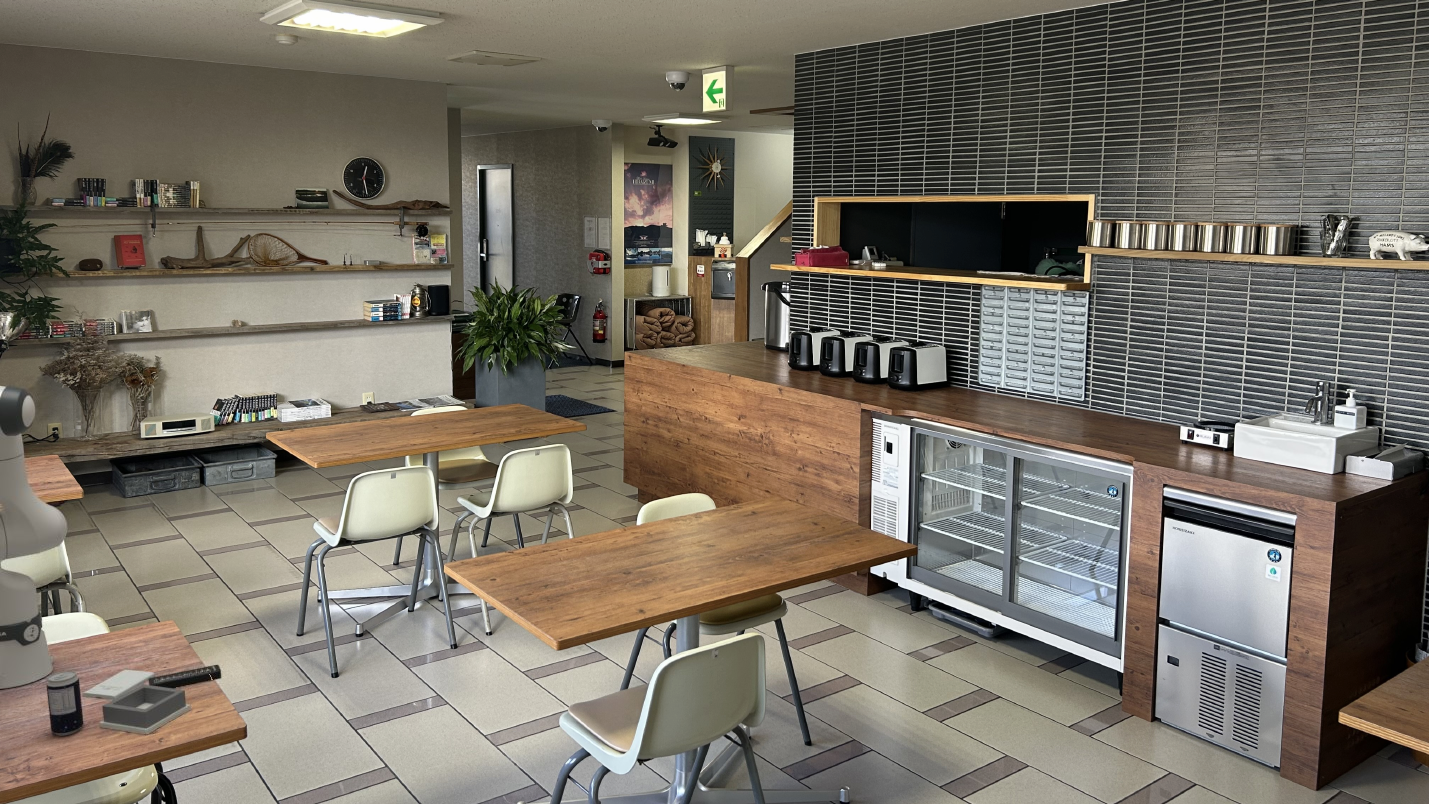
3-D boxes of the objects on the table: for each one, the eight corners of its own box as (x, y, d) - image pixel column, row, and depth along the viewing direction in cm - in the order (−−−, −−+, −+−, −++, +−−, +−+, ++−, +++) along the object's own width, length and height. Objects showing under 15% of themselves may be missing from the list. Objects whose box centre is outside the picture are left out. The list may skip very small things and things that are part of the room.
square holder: (99, 727, 217) (97, 706, 216) (145, 702, 228) (143, 682, 228) (147, 734, 214) (145, 714, 213) (190, 709, 225) (189, 689, 224)
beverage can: (90, 727, 217) (84, 672, 215) (63, 739, 212) (57, 683, 210) (71, 722, 219) (66, 668, 217) (45, 734, 214) (39, 678, 212)
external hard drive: (155, 679, 242) (114, 702, 230) (124, 675, 243) (82, 698, 231) (154, 672, 241) (114, 695, 229) (123, 669, 243) (81, 691, 231)
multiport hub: (149, 687, 237) (148, 677, 236) (218, 673, 244) (218, 663, 244) (150, 694, 233) (150, 684, 233) (221, 680, 241) (221, 670, 240)
